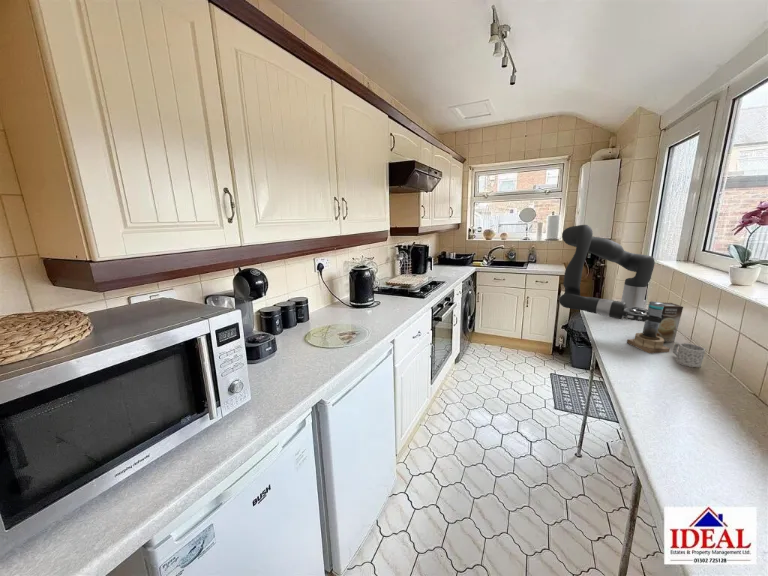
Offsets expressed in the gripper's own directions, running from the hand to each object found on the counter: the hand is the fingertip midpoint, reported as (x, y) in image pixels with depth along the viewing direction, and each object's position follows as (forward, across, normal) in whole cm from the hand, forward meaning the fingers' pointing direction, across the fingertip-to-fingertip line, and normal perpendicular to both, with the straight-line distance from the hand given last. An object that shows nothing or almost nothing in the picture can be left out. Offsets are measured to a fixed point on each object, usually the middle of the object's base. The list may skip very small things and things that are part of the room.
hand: (662, 318), depth 119 cm
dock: (-3, 0, +13) cm, 14 cm away
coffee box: (-1, +14, +13) cm, 20 cm away
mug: (+9, -5, +14) cm, 17 cm away
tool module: (-3, 0, +8) cm, 8 cm away
